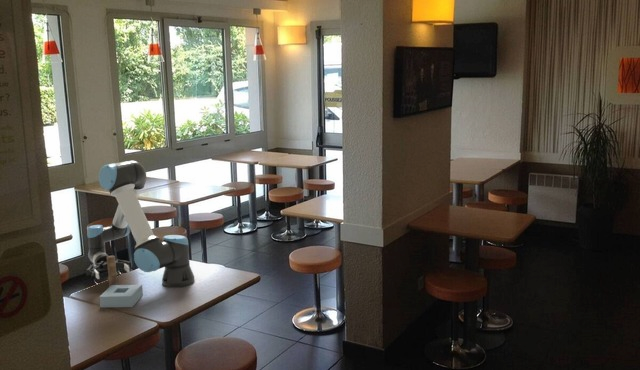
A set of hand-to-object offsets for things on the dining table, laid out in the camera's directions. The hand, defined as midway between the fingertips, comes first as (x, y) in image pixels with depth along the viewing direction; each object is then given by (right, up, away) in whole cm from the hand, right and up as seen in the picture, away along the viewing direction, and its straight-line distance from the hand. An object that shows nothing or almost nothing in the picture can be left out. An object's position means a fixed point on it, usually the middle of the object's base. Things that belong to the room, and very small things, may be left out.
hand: (113, 273), depth 263 cm
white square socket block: (+6, -11, -7) cm, 15 cm away
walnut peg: (-1, -9, +4) cm, 10 cm away
